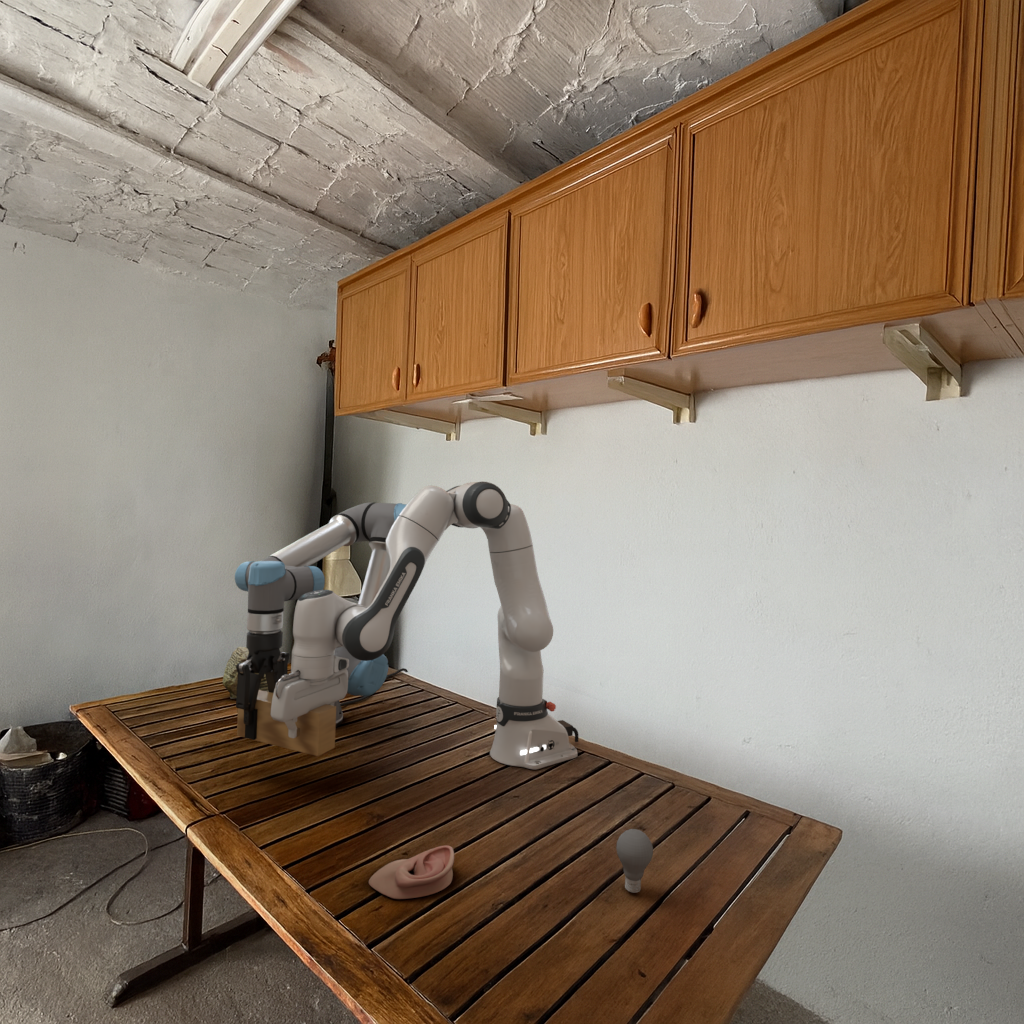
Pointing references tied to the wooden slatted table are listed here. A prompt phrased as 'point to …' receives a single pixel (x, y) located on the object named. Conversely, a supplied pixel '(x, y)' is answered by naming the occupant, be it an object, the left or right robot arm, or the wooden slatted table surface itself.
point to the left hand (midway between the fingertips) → (261, 733)
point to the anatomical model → (416, 874)
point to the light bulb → (634, 857)
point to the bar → (313, 726)
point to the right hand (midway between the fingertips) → (309, 729)
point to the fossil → (232, 675)
